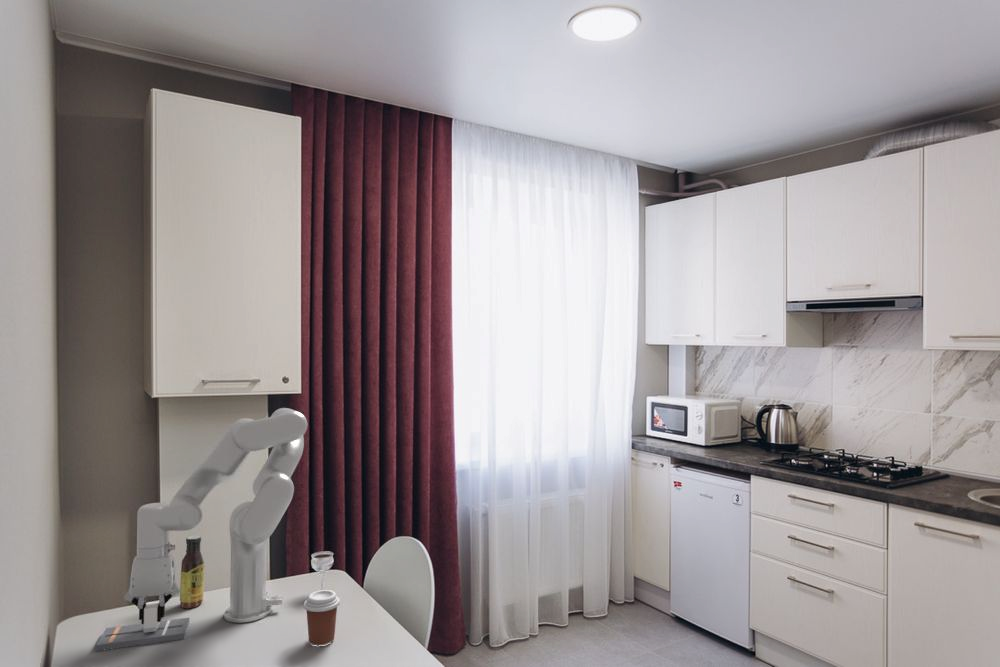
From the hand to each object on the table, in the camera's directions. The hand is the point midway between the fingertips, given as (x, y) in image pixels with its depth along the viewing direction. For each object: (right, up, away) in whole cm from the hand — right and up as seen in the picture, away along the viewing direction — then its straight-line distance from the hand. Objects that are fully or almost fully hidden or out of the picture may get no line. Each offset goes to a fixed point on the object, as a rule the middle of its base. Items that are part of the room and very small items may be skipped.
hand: (151, 620), depth 164 cm
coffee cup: (+46, -4, -3) cm, 46 cm away
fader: (0, -2, 0) cm, 2 cm away
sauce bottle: (+1, -5, +19) cm, 20 cm away
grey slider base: (-1, -4, -1) cm, 4 cm away
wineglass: (+37, -5, +28) cm, 47 cm away
